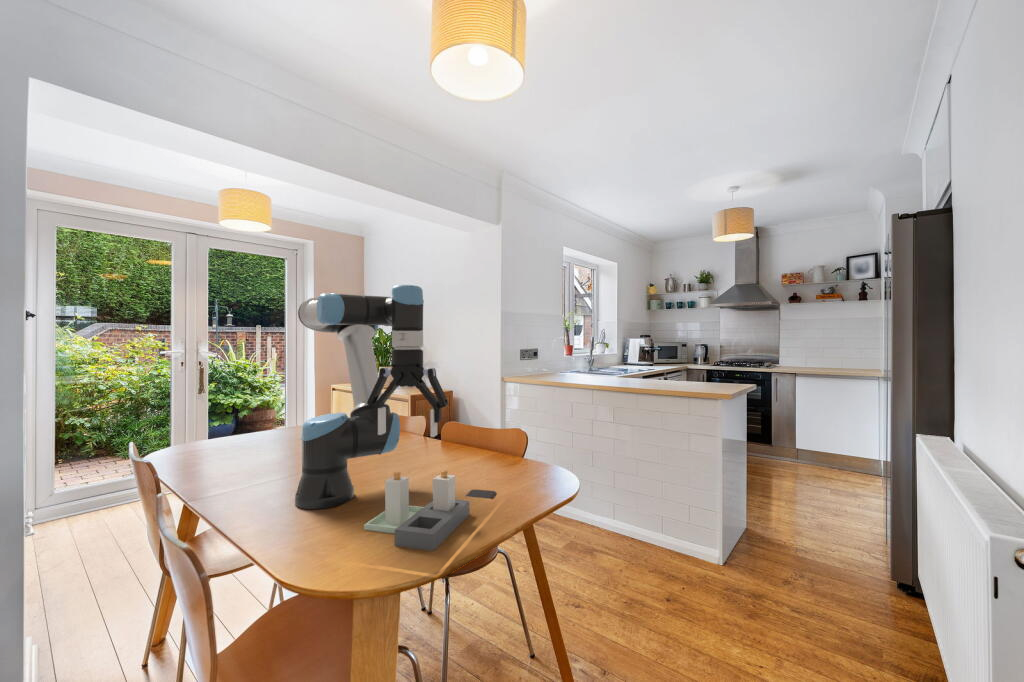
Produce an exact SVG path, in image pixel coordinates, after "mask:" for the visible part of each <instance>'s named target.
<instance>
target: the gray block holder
mask: <svg viewBox="0 0 1024 682" xmlns="http://www.w3.org/2000/svg"><path fill="white" fill-rule="evenodd" d="M422 507H423V508H422V509H421V510H419V511H418V512H417V513H416V514H414V515H413V516H412V517H410V518H409V519H408V520H406V521H405V522H404V523H403V524H401V525H400V526H399V527H397V528H396V529H395V534H394V547H400V548H401V547H402V548H408V549H415V550H423V551H428V552H429V551H431V552H434V551H435V550H436V549H437V548H438V547H439V546H440V545H442V544H443V542H444V541H446V539H447V538H448V537H449V536H450V535H451V534H452V533H453V532H454V531H455V530H456V529H457V528H458V527H459V526H460V525H461V524H462V523H463V522H464V521H465V520H466V519H467V518H468V517H469V516H470V500H465V499H457V498H456V475H453V474H448V470H447V469H441V470H440V474H438V475H437V476H435V477H434V478H432V500H431V501H430V502H428V503H427V504H426V505H425V506H422Z"/></svg>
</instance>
